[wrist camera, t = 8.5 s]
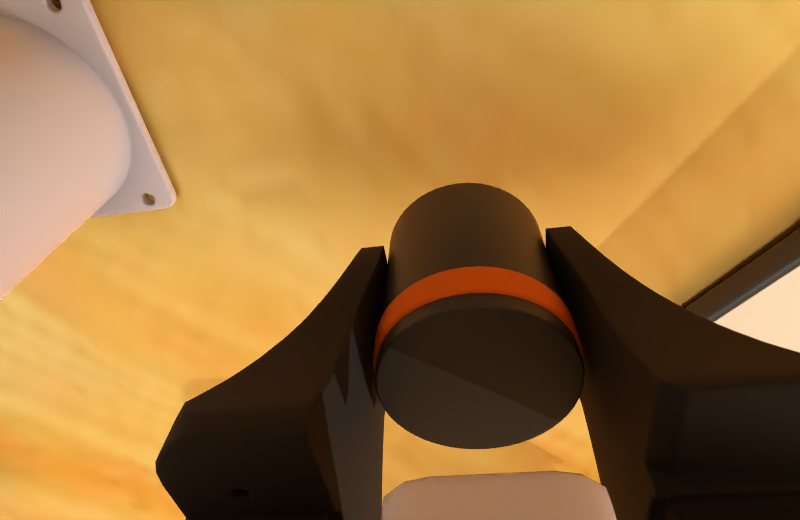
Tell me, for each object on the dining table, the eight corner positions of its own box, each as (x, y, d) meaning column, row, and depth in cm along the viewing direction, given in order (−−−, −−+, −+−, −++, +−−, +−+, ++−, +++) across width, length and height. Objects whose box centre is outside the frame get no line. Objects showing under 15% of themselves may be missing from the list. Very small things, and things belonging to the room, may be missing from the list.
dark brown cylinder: (400, 315, 16) (389, 456, 12) (374, 189, 14) (350, 314, 9) (543, 302, 15) (584, 447, 11) (543, 169, 13) (596, 292, 9)
